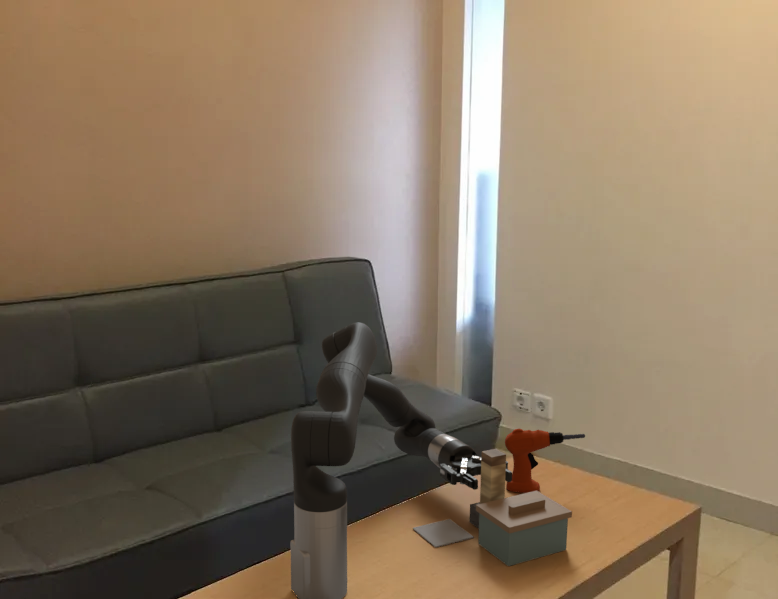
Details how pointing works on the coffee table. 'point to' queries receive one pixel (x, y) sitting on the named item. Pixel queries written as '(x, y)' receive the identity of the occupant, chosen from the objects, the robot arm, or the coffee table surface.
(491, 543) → the toolbox
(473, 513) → the gray open box
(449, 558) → the coffee table surface
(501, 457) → the mottled beige block
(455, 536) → the rubber mat
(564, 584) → the coffee table surface
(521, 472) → the toy drill
